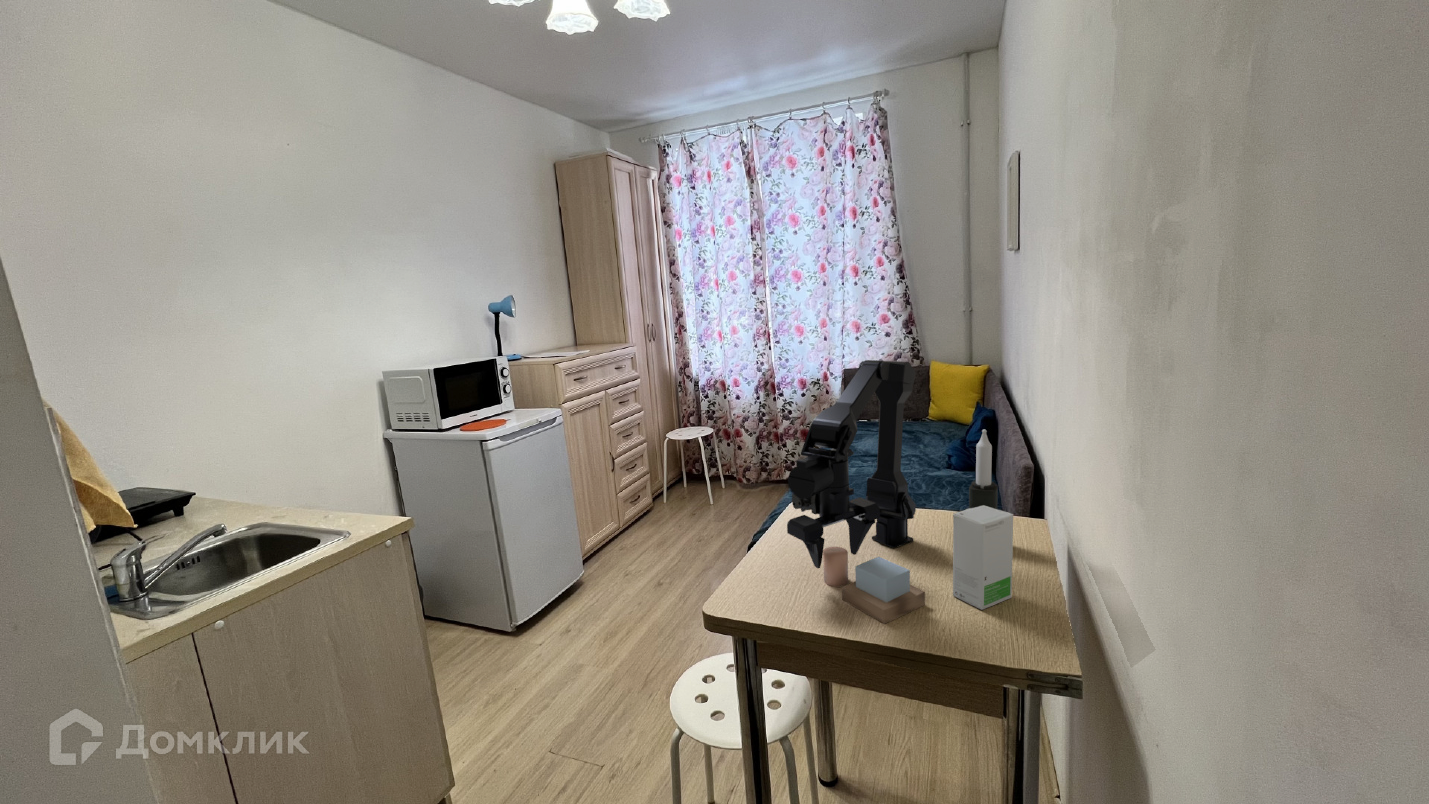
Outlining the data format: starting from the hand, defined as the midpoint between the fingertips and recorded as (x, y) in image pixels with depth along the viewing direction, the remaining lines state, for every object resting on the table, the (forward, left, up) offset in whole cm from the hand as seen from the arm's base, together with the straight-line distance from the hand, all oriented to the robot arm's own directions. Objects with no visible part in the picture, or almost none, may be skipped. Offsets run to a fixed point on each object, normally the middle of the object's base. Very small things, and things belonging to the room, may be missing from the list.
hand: (835, 560), depth 112 cm
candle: (-35, +7, -4) cm, 36 cm away
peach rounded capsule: (0, 0, -4) cm, 4 cm away
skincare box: (-16, +20, -4) cm, 26 cm away
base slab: (-1, +11, -4) cm, 12 cm away
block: (-1, +11, -2) cm, 11 cm away
